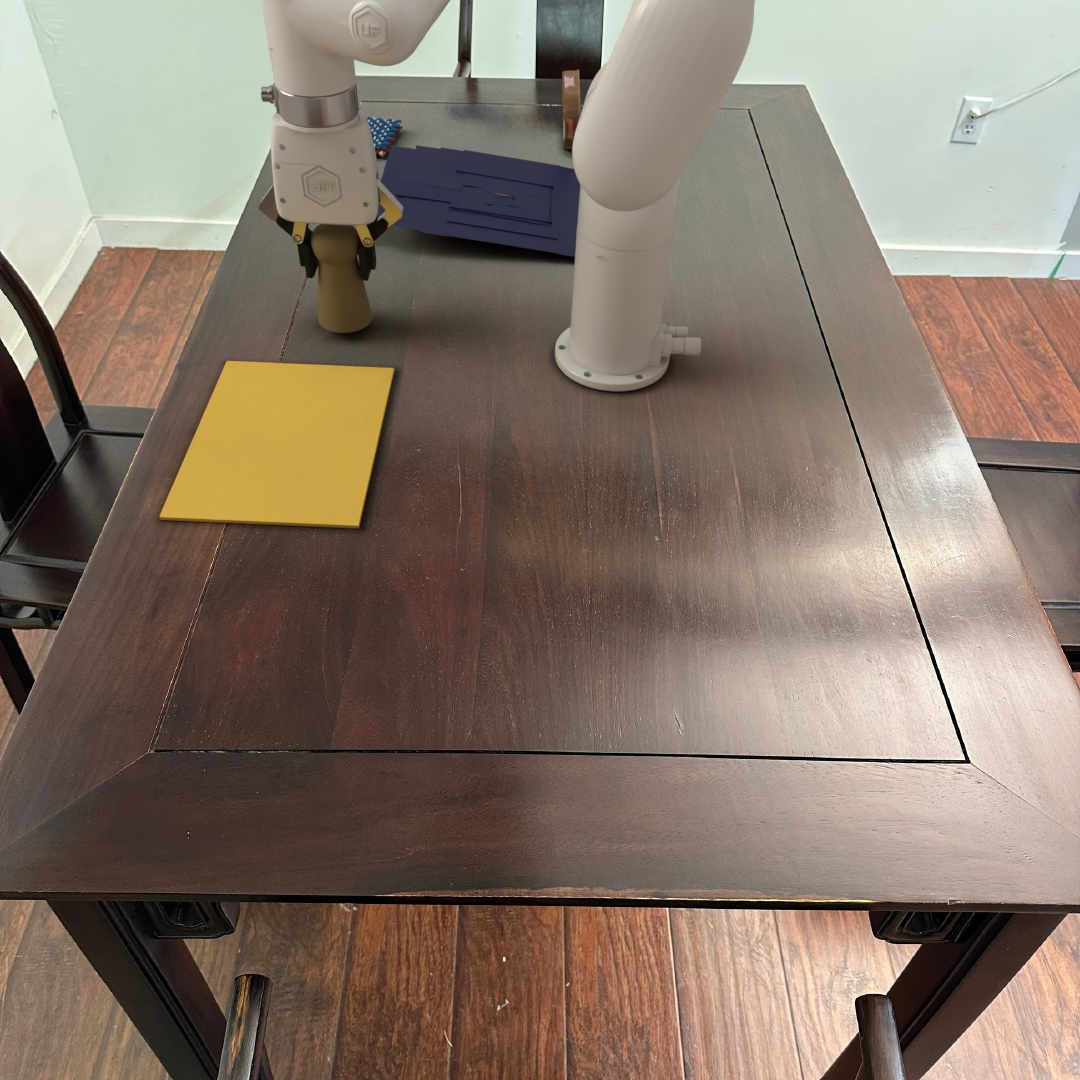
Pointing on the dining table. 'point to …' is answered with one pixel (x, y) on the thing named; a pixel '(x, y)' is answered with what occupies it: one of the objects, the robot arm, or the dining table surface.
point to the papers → (485, 197)
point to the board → (283, 446)
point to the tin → (570, 105)
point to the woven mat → (383, 133)
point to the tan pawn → (340, 279)
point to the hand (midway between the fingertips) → (339, 271)
